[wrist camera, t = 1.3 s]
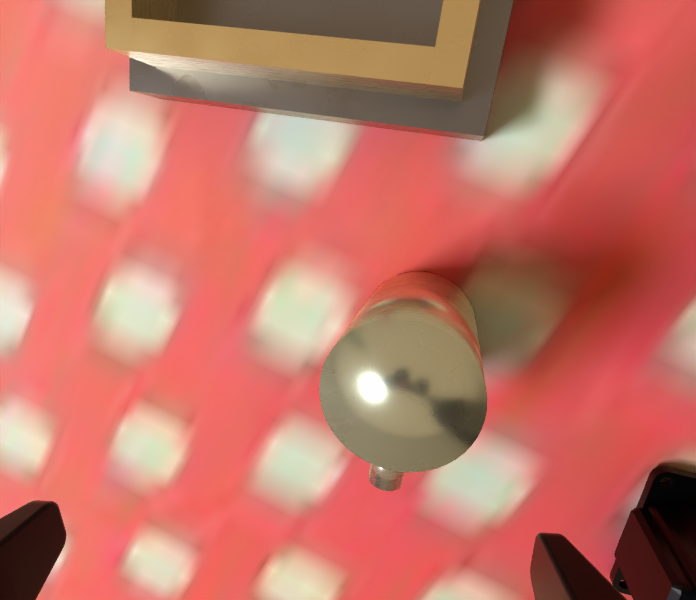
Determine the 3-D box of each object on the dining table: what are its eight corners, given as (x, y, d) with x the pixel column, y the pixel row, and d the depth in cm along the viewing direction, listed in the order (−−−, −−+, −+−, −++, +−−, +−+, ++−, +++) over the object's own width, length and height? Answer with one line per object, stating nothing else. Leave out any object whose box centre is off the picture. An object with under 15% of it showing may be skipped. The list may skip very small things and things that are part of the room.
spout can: (487, 283, 19) (505, 339, 12) (455, 418, 21) (456, 529, 14) (371, 261, 20) (330, 303, 13) (350, 393, 22) (305, 487, 15)
